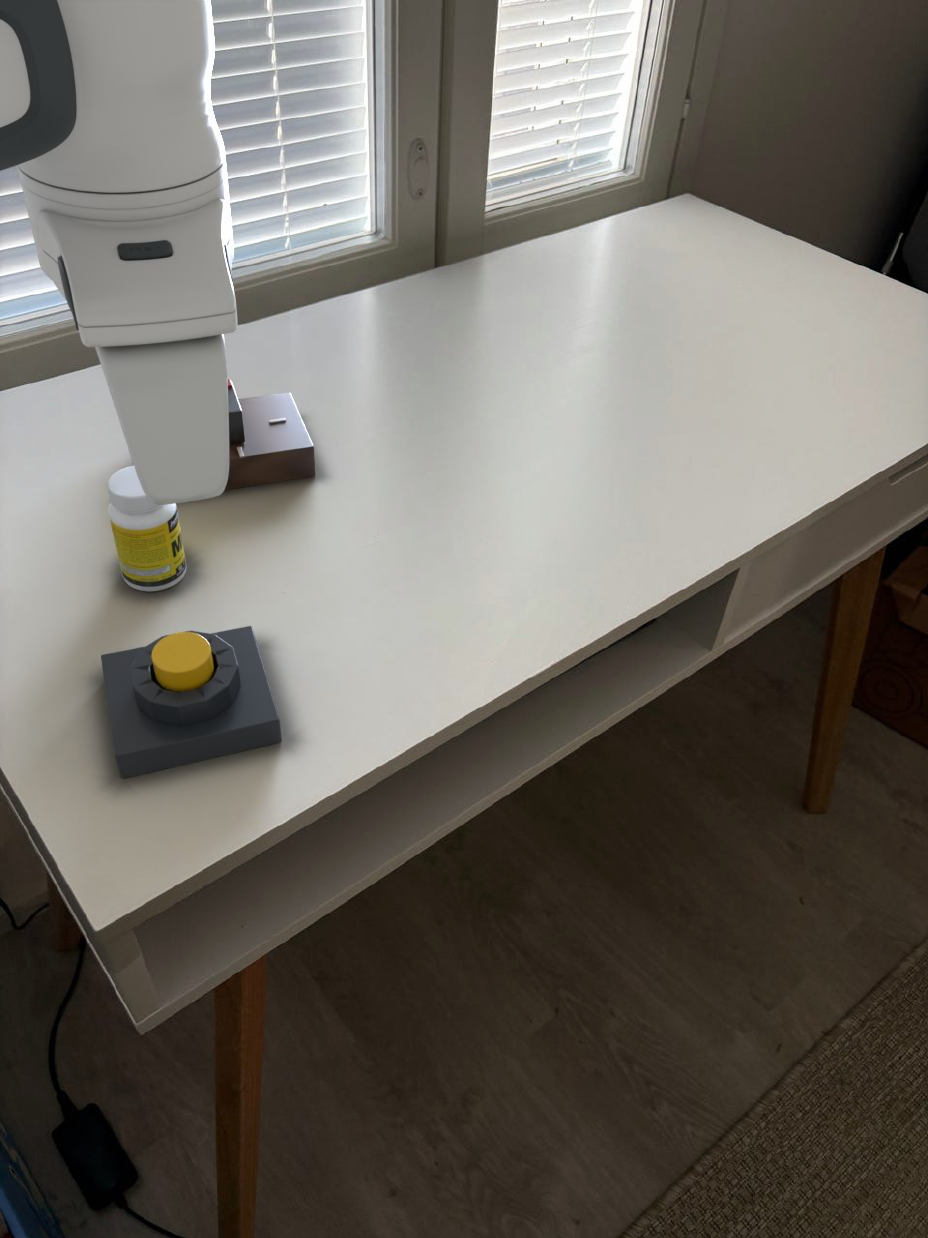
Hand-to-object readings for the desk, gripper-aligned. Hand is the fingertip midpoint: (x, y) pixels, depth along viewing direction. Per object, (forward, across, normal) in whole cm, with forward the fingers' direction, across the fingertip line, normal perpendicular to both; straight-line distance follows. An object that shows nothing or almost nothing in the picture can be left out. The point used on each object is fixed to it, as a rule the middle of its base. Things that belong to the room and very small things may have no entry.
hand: (173, 471), depth 56 cm
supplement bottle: (+18, -13, -2) cm, 22 cm away
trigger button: (+14, +1, -1) cm, 14 cm away
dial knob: (+15, -27, +7) cm, 31 cm away
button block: (+18, +2, -1) cm, 18 cm away
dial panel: (+18, -26, +7) cm, 33 cm away
